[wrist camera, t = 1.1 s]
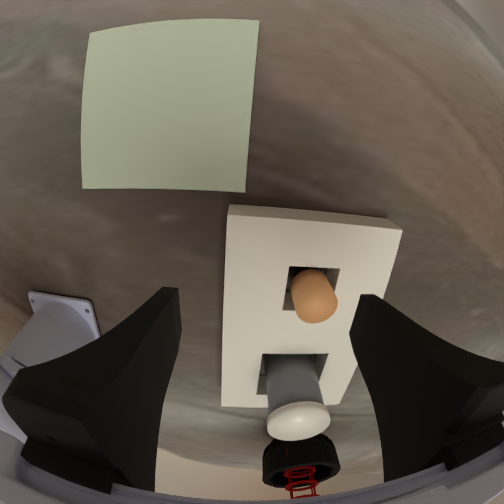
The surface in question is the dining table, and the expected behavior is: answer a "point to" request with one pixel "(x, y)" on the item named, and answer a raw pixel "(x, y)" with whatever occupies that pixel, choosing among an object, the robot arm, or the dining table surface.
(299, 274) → the plunger
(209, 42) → the mat
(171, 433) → the dining table surface
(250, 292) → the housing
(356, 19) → the dining table surface
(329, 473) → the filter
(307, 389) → the cylinder
